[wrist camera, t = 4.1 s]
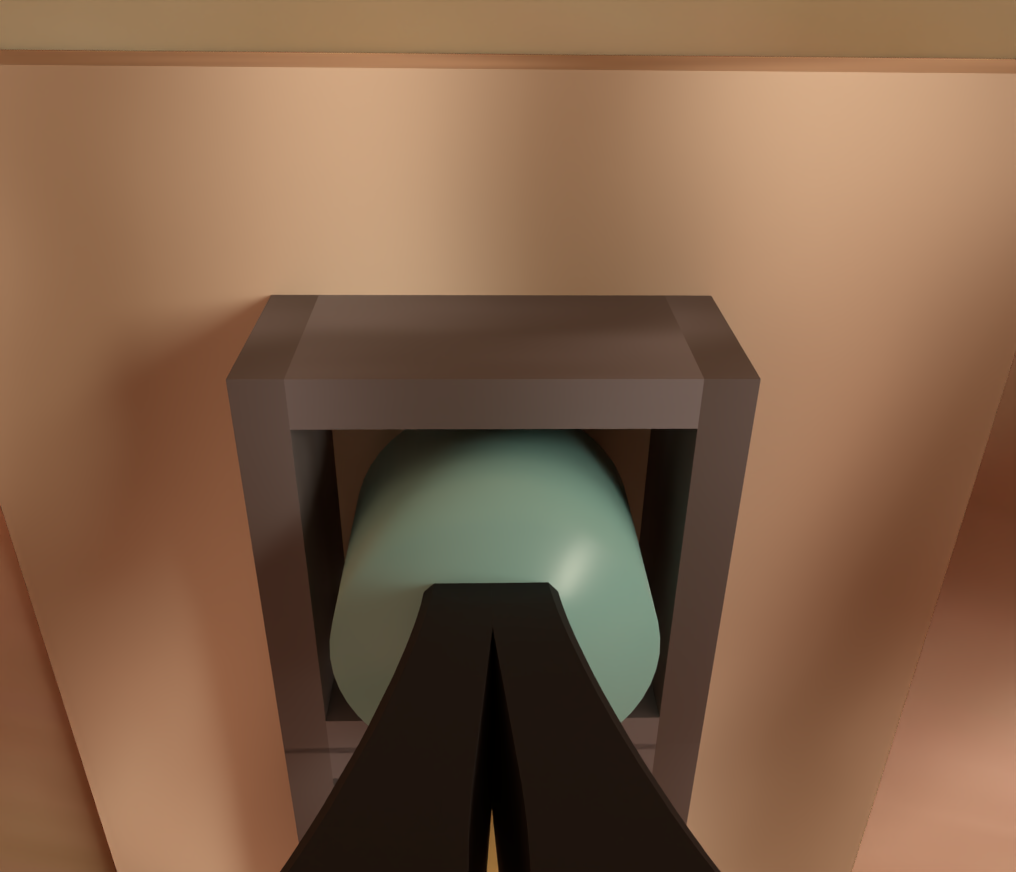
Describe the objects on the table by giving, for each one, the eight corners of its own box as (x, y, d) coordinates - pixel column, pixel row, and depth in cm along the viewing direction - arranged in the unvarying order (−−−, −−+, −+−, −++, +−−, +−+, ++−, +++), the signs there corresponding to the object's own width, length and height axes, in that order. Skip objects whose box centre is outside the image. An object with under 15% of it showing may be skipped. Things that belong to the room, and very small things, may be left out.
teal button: (639, 402, 11) (676, 519, 9) (618, 624, 13) (645, 767, 11) (346, 402, 11) (314, 522, 9) (365, 627, 13) (343, 770, 11)
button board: (1047, 59, 12) (1256, 116, 8) (787, 971, 22) (839, 1151, 18) (-83, 48, 11) (-301, 104, 8) (185, 983, 21) (134, 1169, 18)
